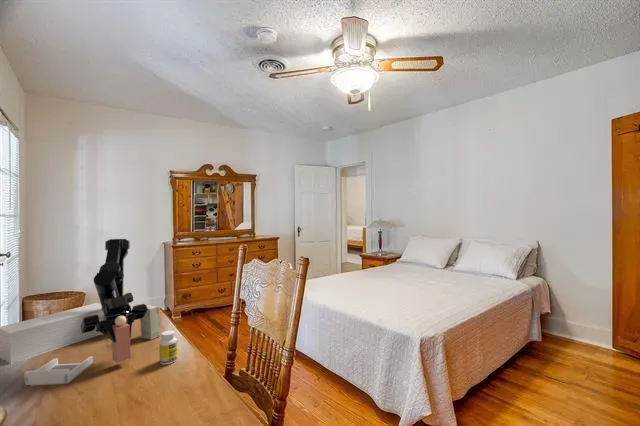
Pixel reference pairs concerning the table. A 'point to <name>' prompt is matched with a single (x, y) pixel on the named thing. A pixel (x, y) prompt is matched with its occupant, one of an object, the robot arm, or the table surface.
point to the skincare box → (150, 323)
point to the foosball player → (121, 339)
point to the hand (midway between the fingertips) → (122, 339)
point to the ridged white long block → (45, 333)
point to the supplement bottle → (168, 347)
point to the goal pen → (56, 372)
